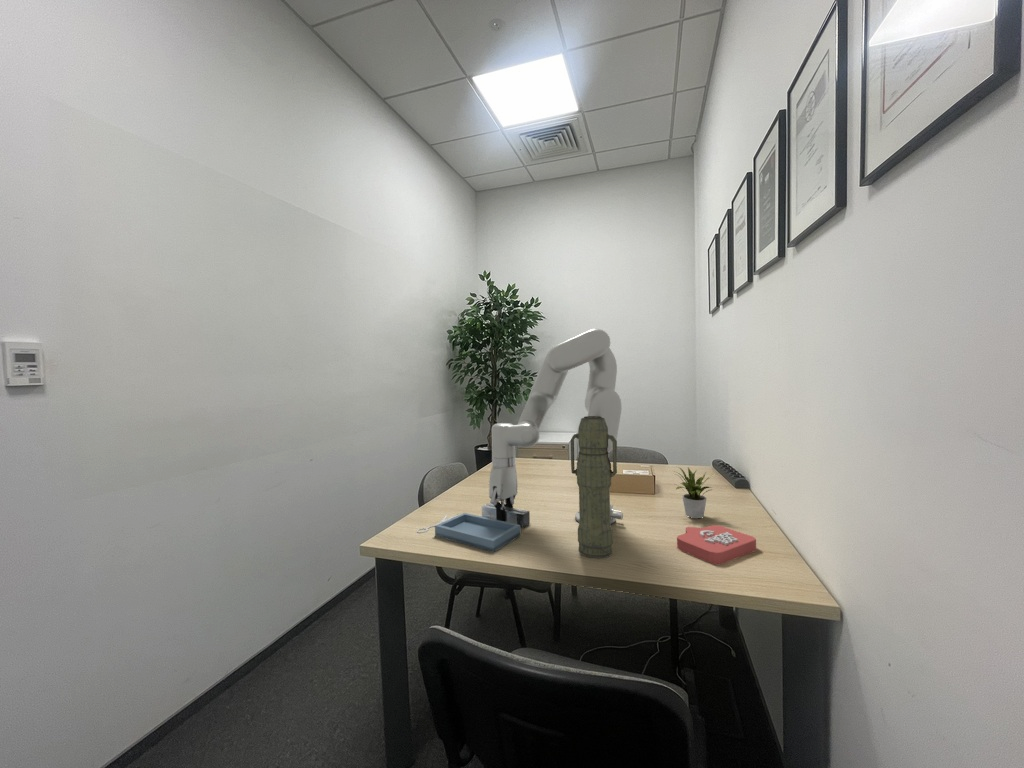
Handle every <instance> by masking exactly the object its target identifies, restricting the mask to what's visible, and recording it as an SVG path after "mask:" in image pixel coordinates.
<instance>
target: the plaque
mask: <svg viewBox="0 0 1024 768" xmlns="http://www.w3.org/2000/svg"><path fill="white" fill-rule="evenodd" d="M676 546H677V547H676V549H678V550H679V551H681V552H682V553H683V552H684V553H686V554H688V555H690V556H693V557H695V558H698V559H700V560H702V561H705V562H707V563H710V564H713V565H723V564H725V563H728V562H730V561H733V560H735V559H739V558H740V557H743V556H745V555H749V554H750V553H753V552H755V551H757V539H756V538H755V536H752V535H750V534H747V533H746V534H745V533H743V532H740V531H736V530H734V529H731V528H728V527H726V526H722V525H717V524H716V525H715V524H713V525H709V526H706V527H695V526H694V527H693V526H685V533H682V534H680V535H677V536H676Z"/></svg>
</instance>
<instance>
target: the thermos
mask: <svg viewBox="0 0 1024 768" xmlns="http://www.w3.org/2000/svg"><path fill="white" fill-rule="evenodd" d="M575 439H576V440H577V439H579V450H580V452H578V458H577V462H576V466H575ZM608 439H611V441H612V442H613V449H612V462H611V460H610V456H609V457H608V454H609V453H608V452H607V447H608ZM617 450H618V441H617V440H616V439H615V438H614V436H612V435H609V434H608V428H607V424H606V422H605V419H604V418H602V417H600V416H588V415H587V416H583V417H581V418H580V421H579V425H578V429H577V433H574V434H573V435H572V437H571V439H570V467H571V469H570V470H571V474H574V475H575V476H576V483H577V486H578V502H579V503H578V504H579V505H578V509H579V511H578V512H579V516H580V522H578V527H577V542H578V552H579V554H580V555H582V556H584V557H587V558H591V559H605V558H608V557H610V556H612V555H613V544H614V540H613V539H614V536H613V528H612V525H611V524H610V505H611V498H610V497H611V491H610V490H611V486H612V478H613V477H614V476H615V475H617V474H618V468H617V464H618V461H617V460H618V457H617V456H618V451H617ZM575 467H576V468H575Z"/></svg>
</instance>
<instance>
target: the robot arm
mask: <svg viewBox="0 0 1024 768" xmlns="http://www.w3.org/2000/svg"><path fill="white" fill-rule="evenodd" d="M610 347H611V337H610V336H609V334H608V333H607V332H606V331H605V330H603V329H600V328H592V329H589V330H587V331H585V332H583V333H581V334H579V335H576V336H575V337H571V338H570V339H567V340H566V341H562V342H561V343H559V344H558V343H557V344H555V345H554V346H552V347H551V348H550V349H549V350H548V351H547V352H546V354H545V356H544V360H543V362H542V364H541V366H540V368H539V371H538V373H537V376H536V378H535V381H534V382H533V385H532V387H531V390H530V392H529V395H528V399H527V400H526V402H525V403H526V404H525V406H524V408H523V410H522V412H521V415H520V417H519V419H518V422H517V424H513V423H510V422H509V423H508V422H497V423H494V424H493V425H492V426H491V466H492V467H491V468H490V473H489V484H488V485H489V486H488V487H489V488H488V495H489V496H488V497H489V499H490V500H489V501H490V502H489V503H490V504H493V505H494V506H495V508H496V520H500V521H504V522H505V521H506V518H505V509H504V506H505V507H510V508H514V505H515V499H516V496H517V495H518V472H517V468H516V467H517V466H516V464H517V463H516V447H521V448H532V447H533V446H535V445H536V444H537V443H538V442H539V439H540V428H541V426H542V423H543V421H544V419H545V416H546V414H547V413H548V411H549V409H550V408H551V407H552V406H553V405H554V403H555V401H556V400H557V398H558V397H559V394H560V392H561V389H562V386H563V383H564V381H565V379H566V377H567V375H568V373H569V371H571V370H572V369H575V368H577V367H580V366H583V365H584V364H586V363H588V365H589V374H588V382H587V383H588V384H587V389H586V394H585V398H584V407H585V409H586V411H587V416H600V417H602V418H604V419H605V422H606V424H607V428H608V434H609V435H612V436H614V438H615V439H616V440H617V439H618V433H619V427H620V422H621V415H622V399H621V397H620V395H619V393H618V392H617V391H616V383H617V375H618V374H617V373H618V366H617V365H618V364H617V359H616V357H615V354H614V352H613V351H612V349H611V348H610ZM576 440H577V450H578V453H579V452H580V450H579V439H577V438H576ZM611 451H613V442H612V441H611V439H608V447H607V452H608V457H609V458H610V454H609V453H610V452H611ZM574 517H575V518H574V519H575V520H576V521H577V522H578V523H580V516H579V511H577V512H575V514H574ZM623 519H624V514H623V512H622V511H621V510H615V509H614V505H613V504H610V524H613V523H615V522H616V520H623Z"/></svg>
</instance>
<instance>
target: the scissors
mask: <svg viewBox="0 0 1024 768" xmlns="http://www.w3.org/2000/svg"><path fill="white" fill-rule="evenodd" d="M458 515H460V514H459V513H455V515H453V516H451V517H449V518H447V516H448V513H446V514H445V515H444V517H443V518H442V519H441V521H439V522H438V523H435V524H434V525H430V526H428V527H421V528H418V529H417V530H416V533H417V534H422V533H423V534H424V533H426V532H429V529H431V528H433V527H434V528H435V525H438V524H440V523H442V522H445V521H447V520H449V519H451V518H454V517H456V516H458ZM421 530H422V531H421Z"/></svg>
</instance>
